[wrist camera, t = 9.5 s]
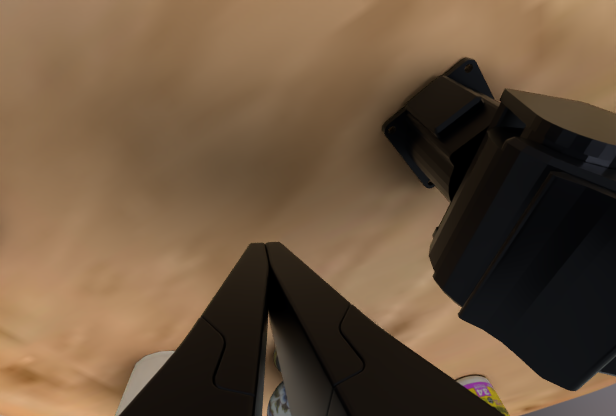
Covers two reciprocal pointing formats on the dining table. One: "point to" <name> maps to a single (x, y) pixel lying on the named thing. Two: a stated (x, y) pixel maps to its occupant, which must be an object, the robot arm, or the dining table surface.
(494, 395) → the supplement bottle
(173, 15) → the dining table surface
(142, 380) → the foam cup
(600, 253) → the robot arm
